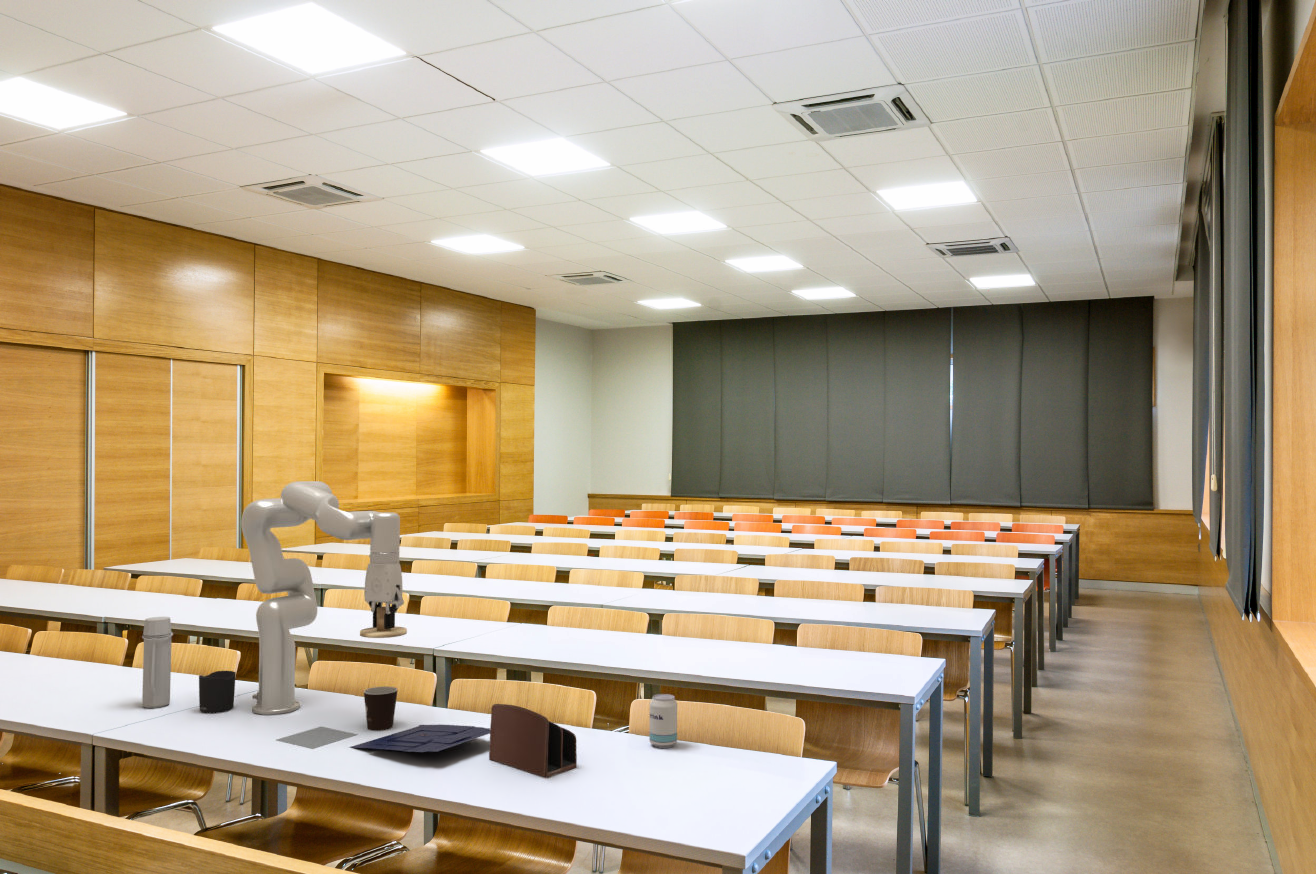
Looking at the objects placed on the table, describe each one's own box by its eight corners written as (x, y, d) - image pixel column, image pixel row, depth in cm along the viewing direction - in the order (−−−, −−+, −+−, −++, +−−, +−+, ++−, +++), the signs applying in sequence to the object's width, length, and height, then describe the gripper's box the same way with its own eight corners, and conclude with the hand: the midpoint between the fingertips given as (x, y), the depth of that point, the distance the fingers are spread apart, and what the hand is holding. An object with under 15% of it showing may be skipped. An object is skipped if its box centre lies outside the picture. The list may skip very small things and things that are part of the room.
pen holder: (198, 707, 259) (199, 672, 259) (235, 704, 263) (235, 669, 263) (197, 715, 251) (198, 679, 251) (234, 712, 255) (235, 676, 255)
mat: (275, 741, 227) (275, 739, 227) (320, 727, 239) (320, 726, 239) (312, 750, 220) (312, 748, 220) (357, 736, 232) (357, 734, 232)
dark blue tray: (431, 766, 206) (430, 749, 206) (346, 758, 222) (345, 743, 222) (505, 739, 226) (504, 724, 226) (422, 734, 242) (421, 720, 243)
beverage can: (643, 745, 226) (644, 696, 227) (663, 739, 231) (663, 691, 232) (663, 751, 221) (663, 701, 222) (682, 745, 226) (682, 696, 227)
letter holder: (545, 779, 201) (546, 715, 202) (488, 760, 214) (489, 700, 215) (577, 768, 209) (577, 706, 209) (520, 750, 222) (521, 692, 222)
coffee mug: (391, 733, 235) (391, 694, 235) (358, 733, 235) (358, 694, 235) (404, 721, 246) (405, 684, 247) (373, 720, 247) (373, 683, 247)
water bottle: (143, 703, 263) (145, 617, 264) (173, 701, 265) (176, 615, 266) (135, 711, 254) (138, 622, 255) (167, 709, 257) (169, 621, 257)
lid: (350, 635, 239) (350, 608, 240) (384, 628, 250) (384, 603, 250) (382, 639, 233) (383, 612, 234) (416, 632, 244) (416, 606, 244)
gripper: (352, 558, 243) (350, 626, 243) (396, 561, 235) (395, 632, 234) (373, 556, 250) (372, 622, 249) (417, 559, 241) (416, 628, 241)
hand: (383, 626), depth 242 cm, fingers closed on lid, 3 cm apart
